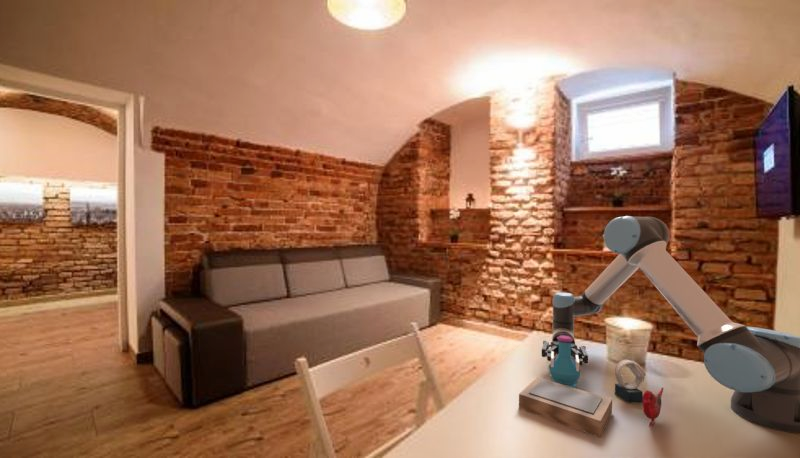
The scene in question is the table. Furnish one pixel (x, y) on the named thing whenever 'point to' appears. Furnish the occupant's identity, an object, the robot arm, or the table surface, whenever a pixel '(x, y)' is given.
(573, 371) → the perfume bottle
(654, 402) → the decorative bird figurine
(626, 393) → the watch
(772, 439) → the table surface
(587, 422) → the walnut stand
